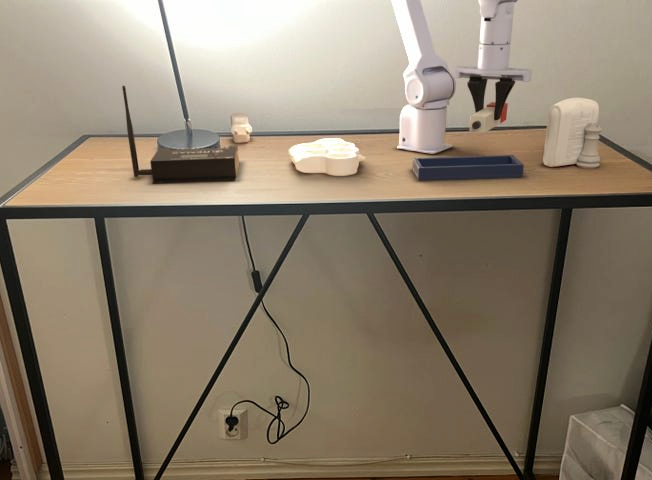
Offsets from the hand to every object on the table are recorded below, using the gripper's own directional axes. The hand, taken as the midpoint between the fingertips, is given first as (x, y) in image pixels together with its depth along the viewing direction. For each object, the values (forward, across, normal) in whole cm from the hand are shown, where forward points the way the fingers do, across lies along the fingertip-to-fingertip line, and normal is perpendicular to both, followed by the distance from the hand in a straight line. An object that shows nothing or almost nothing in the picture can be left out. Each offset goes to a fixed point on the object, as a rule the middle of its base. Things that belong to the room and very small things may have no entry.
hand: (488, 118), depth 141 cm
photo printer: (+9, -15, -5) cm, 18 cm away
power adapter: (+8, +56, +6) cm, 56 cm away
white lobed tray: (+9, +28, +15) cm, 33 cm away
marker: (+1, 0, 0) cm, 1 cm away
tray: (+8, 0, +10) cm, 13 cm away
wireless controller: (+8, +50, +32) cm, 60 cm away
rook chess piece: (+9, -19, -5) cm, 22 cm away
